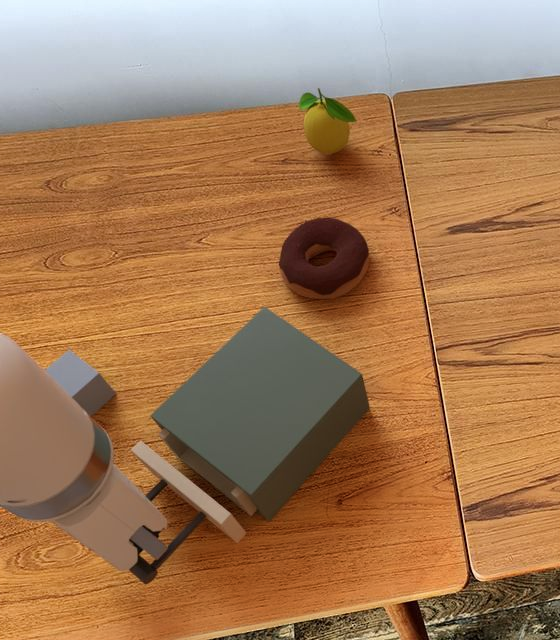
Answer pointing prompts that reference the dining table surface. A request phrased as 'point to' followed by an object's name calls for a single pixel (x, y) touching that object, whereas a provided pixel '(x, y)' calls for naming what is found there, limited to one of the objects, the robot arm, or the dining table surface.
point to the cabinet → (266, 409)
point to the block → (81, 382)
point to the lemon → (325, 123)
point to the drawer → (189, 497)
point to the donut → (332, 276)
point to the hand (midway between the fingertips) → (145, 536)
